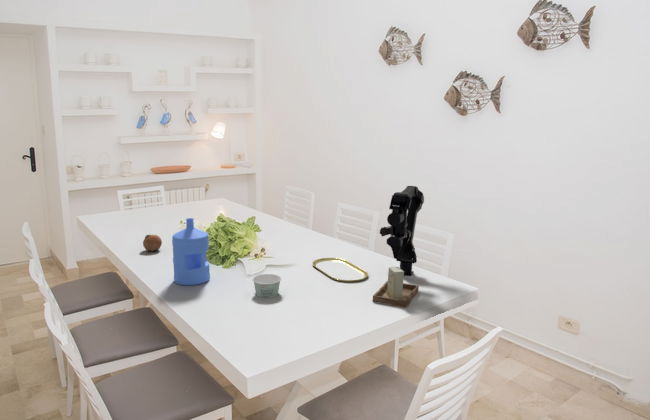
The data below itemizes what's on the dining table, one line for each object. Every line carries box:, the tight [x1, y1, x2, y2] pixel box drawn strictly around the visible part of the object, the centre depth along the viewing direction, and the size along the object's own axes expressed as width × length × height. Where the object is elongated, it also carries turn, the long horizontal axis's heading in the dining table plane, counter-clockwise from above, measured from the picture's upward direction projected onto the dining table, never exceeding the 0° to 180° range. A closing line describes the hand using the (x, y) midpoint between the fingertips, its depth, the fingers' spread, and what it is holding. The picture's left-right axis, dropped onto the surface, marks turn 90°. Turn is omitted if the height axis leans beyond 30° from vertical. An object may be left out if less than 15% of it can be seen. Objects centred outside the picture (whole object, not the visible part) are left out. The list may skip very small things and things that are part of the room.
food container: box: [252, 273, 282, 298], centre depth 211 cm, size 12×12×6 cm
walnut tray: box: [372, 280, 420, 309], centre depth 211 cm, size 20×14×2 cm
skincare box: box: [387, 266, 405, 299], centre depth 207 cm, size 6×4×12 cm
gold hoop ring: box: [312, 257, 369, 283], centre depth 242 cm, size 19×35×2 cm, turn 27°
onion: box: [142, 234, 163, 252], centre depth 268 cm, size 10×9×10 cm
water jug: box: [171, 217, 211, 286], centre depth 223 cm, size 16×16×28 cm
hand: (398, 255), depth 223 cm, fingers open, 9 cm apart
